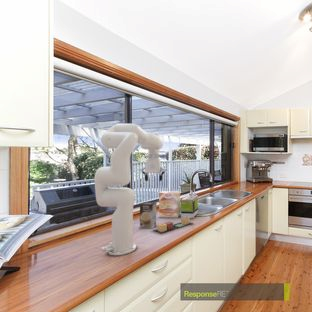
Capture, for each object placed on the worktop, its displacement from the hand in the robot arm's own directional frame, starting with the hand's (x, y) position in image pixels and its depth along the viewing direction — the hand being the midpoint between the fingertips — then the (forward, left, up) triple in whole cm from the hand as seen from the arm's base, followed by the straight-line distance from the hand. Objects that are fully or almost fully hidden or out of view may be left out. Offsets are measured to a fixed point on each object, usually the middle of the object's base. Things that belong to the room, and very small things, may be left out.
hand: (153, 180), depth 155 cm
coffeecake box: (+18, +7, -31) cm, 36 cm away
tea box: (+29, -4, -31) cm, 43 cm away
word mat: (+3, -19, -30) cm, 36 cm away
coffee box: (-7, -4, -31) cm, 32 cm away
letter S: (-1, -19, -30) cm, 36 cm away
